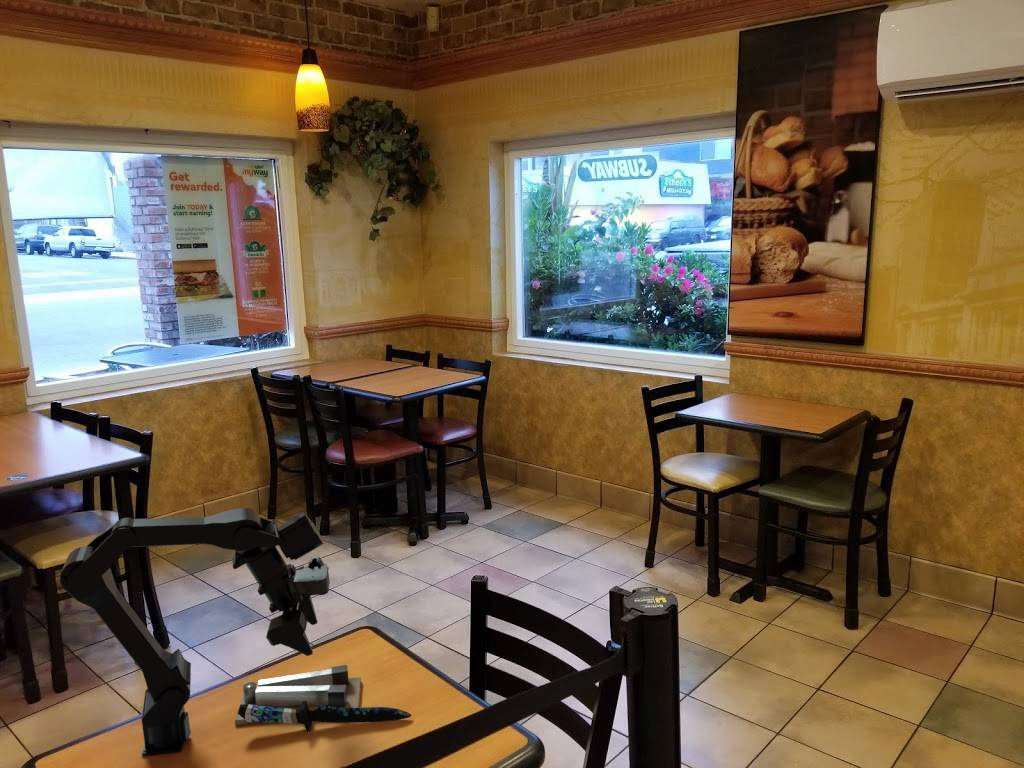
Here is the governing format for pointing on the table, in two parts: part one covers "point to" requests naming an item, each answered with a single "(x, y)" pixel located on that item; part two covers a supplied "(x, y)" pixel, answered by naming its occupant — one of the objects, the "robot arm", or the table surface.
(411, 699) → the table surface
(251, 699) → the tong hinge
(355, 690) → the flat board
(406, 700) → the table surface
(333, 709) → the knife
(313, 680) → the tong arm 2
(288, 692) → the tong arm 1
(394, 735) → the table surface
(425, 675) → the table surface
